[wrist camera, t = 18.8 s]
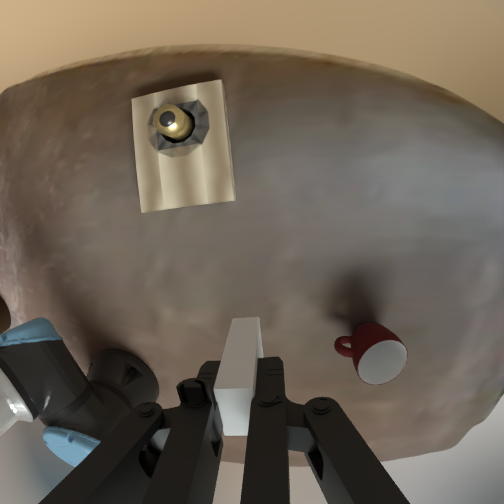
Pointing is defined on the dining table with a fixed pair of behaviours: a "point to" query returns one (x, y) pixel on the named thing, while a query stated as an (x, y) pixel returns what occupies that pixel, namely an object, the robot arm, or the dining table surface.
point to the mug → (374, 353)
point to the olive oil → (4, 316)
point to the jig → (184, 150)
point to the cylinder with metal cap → (173, 123)
